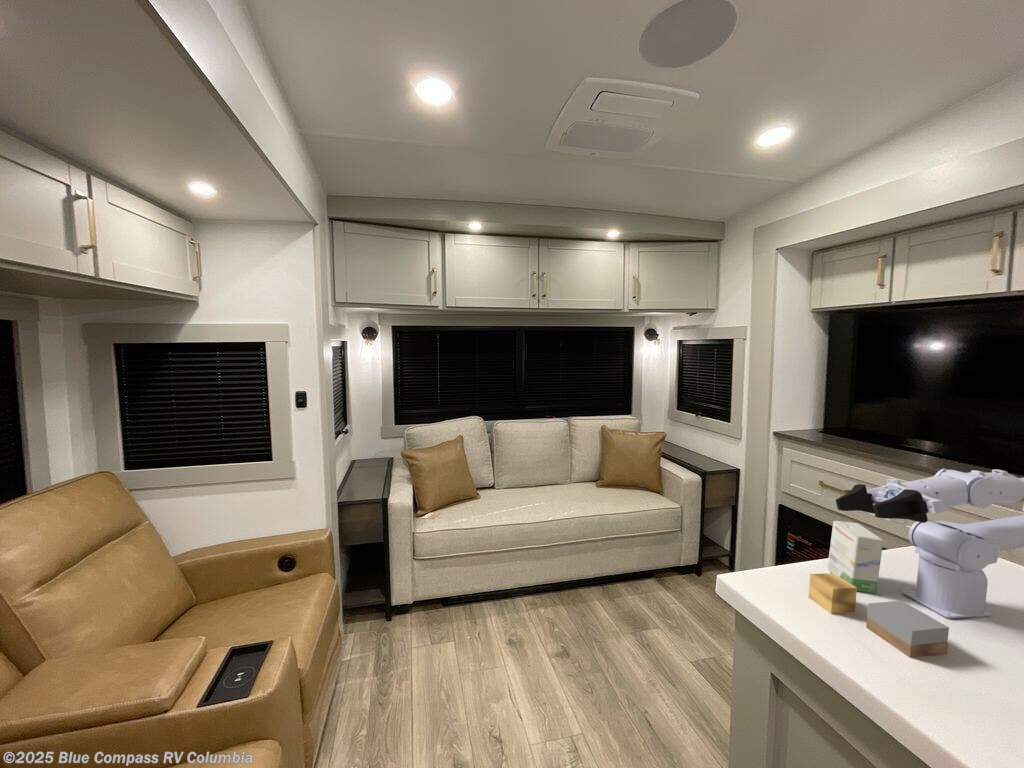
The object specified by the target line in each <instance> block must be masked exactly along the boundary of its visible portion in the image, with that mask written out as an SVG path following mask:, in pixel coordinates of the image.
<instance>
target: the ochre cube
mask: <svg viewBox="0 0 1024 768" xmlns="http://www.w3.org/2000/svg"><path fill="white" fill-rule="evenodd" d="M857 592H858V591H857V587H855V586H853V585H852V584H850V583H848V582H847V581H845V580H843V579H842V578H840V577H839V576H837V575H835V574H834V573H831V572H826V573H824V572H823V573H809V586H808V599H810V600H811V601H813V602H814V603H816V604H817V605H818V606H820V607H821V608H822V609H824V610H825V611H827V612H828V613H829V614H831V615H832V614H833V615H834V614H847V613H848V614H849V613H856V603H857Z"/></svg>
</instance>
